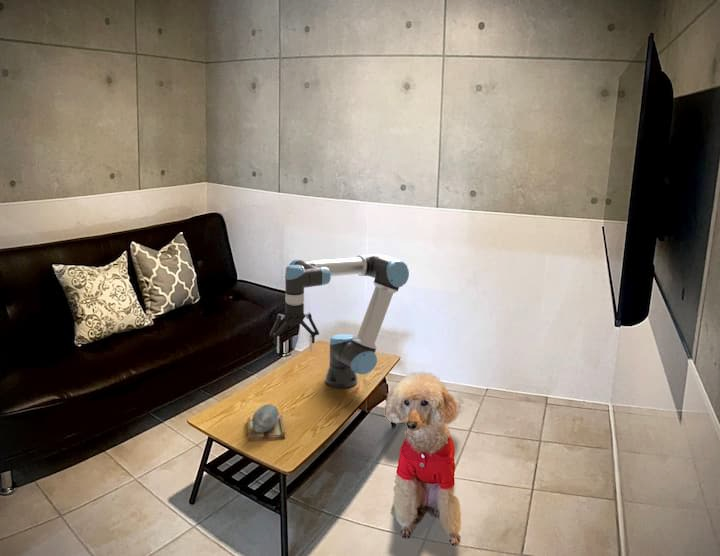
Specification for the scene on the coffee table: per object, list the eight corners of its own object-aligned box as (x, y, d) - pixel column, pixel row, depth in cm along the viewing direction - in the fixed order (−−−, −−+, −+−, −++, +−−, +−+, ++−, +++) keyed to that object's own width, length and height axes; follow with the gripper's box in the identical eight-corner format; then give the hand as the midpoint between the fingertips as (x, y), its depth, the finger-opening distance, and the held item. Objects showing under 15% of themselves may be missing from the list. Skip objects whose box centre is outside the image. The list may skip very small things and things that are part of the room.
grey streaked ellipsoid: (259, 408, 252) (267, 394, 246) (279, 421, 251) (287, 406, 246) (243, 430, 241) (250, 415, 235) (263, 443, 240) (271, 429, 234)
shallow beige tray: (281, 419, 253) (281, 414, 252) (284, 438, 239) (284, 432, 238) (247, 422, 250) (247, 416, 249) (248, 441, 236) (248, 435, 235)
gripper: (323, 299, 256) (322, 346, 261) (263, 300, 251) (263, 349, 256) (326, 304, 249) (325, 353, 254) (264, 306, 243) (264, 356, 249)
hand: (294, 351), depth 255 cm, fingers open, 13 cm apart
